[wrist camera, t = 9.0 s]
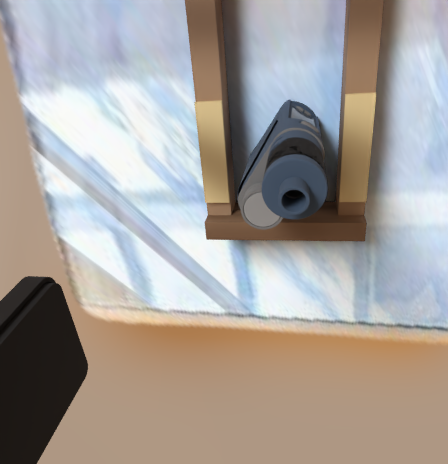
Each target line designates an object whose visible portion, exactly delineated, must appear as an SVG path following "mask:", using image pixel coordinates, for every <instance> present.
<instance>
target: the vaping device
mask: <svg viewBox="0 0 448 464" xmlns="http://www.w3.org/2000/svg"><path fill="white" fill-rule="evenodd" d="M324 158H325V151H324V147H323V143H322V137H321V132H320V127H319V121H318V117H316V116H315V114H314V113H313V111H312V110H311V109H310V108H309V107H307V106H306V105H304V104H302V103H300V102H295V101H291V100H288V101H286V102H285V103H284V104H283V105H282V107H281V108H280V110H279V111H278V113H277V115H276V116H275V118H274V119H273V121H272V123H271V124H270V126H269V127H268V129H267V130H266V132H265V134H264V135H263V137H262V138H261V140H260V142H259V143H258V145H257V146H256V148H255V149H254V150H253V152H252V153H251V155H250V157H249V160H248V163H247V166H246V169H245V172H244V174H243V177H242V180H241V183H240V186H239V189H238V192H237V199H238V204H239V207H240V209H241V214H242V217H243V219H244V220H245V222H246V223H247V224H249V225H250V226H252V227H254V228H256V229H261V230H266V229H271V228H273V227H275V226H277V225H278V224H279V223H280V222H281V221H282V219H283V218H286V219H292V220H293V219H303V218H306V217H309V216H311V215H312V214H314V213H315V212H317V211H318V210H319V209H320V208H321V207H322V205H323V204H324V202H325V200H326V197H327V193H328V185H327V178H326V172H325V166H324ZM323 169H324V170H323Z"/></svg>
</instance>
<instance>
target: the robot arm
mask: <svg viewBox="0 0 448 464" xmlns="http://www.w3.org/2000/svg"><path fill="white" fill-rule="evenodd" d="M87 370H88V363H87V360H86V357H85V354H84V351H83V348H82V345H81V343H80V339H79V337H78V334H77V331H76V328H75V325H74V322H73V320H72V317H71V314H70V311H69V308H68V305H67V302H66V299H65V296H64V293H63V291H62V288H61V286H60V285H59V284H57V283H56V282H55V281H54V280H53V279H52V278H50V277H32V276H28V277H25V278H23V279H22V280H21V281H20V282H19V283H18V284H17V285H16V286H15V287H14V288H13V289H12V290H11V291H10V292H9V293H8V294H7V295H6V296H5V297H4V298H3V299H2V300H1V301H0V464H37V462H38V460H39V459H40V457H41V455H42V453H43V452H44V450H45V448H46V446H47V445H48V443H49V441H50V439H51V437H52V436H53V434H54V432H55V430H56V429H57V427H58V425H59V423H60V422H61V420H62V418H63V416H64V414H65V413H66V411H67V409H68V407H69V406H70V404H71V402H72V400H73V398H74V397H75V395H76V393H77V392H78V390H79V388H80V386H81V384H82V382H83V381H84V379H85V377H86V375H87Z"/></svg>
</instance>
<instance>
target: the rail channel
mask: <svg viewBox="0 0 448 464" xmlns="http://www.w3.org/2000/svg"><path fill="white" fill-rule="evenodd" d="M383 4H384V0H346V17H345V36H344V54H343V73H342V91H341V110H340V128H339V147H338V165H337V184H336V202H324V204H323V205H322V207H321V208H320V209H319V210H318V211H317V212H315V213H314V214H312V215H311V216H309V217H306V218H303V219H293V220H292V219H286V218H283V219H282V221H281V222H280V223H279V224H278V225H277V226H275V227H273V228H271V229H266V230H261V229H256V228H254V227H252V226H250V225H249V224H247V223H246V222H245V220H244V219H243V217H242V214H241V209H240V207H239V204H238V202H236V200H235V186H234V172H233V158H232V144H231V130H230V116H229V102H228V87H227V73H226V59H225V45H224V31H223V17H222V3H221V0H185V5H186V15H187V24H188V33H189V43H190V52H191V61H192V71H193V80H194V89H195V99H196V102H195V111H196V120H197V129H198V139H199V148H200V157H201V166H202V175H203V185H204V194H205V203H207V211H208V216H207V219H206V221H205V229H206V238H207V239H214V240H303V241H365V234H366V224H367V223H366V220H365V216H364V212H365V202H366V200H367V189H368V178H369V168H370V157H371V146H372V135H373V125H374V114H375V103H376V93H375V92H376V81H377V70H378V59H379V48H380V37H381V26H382V15H383Z"/></svg>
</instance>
